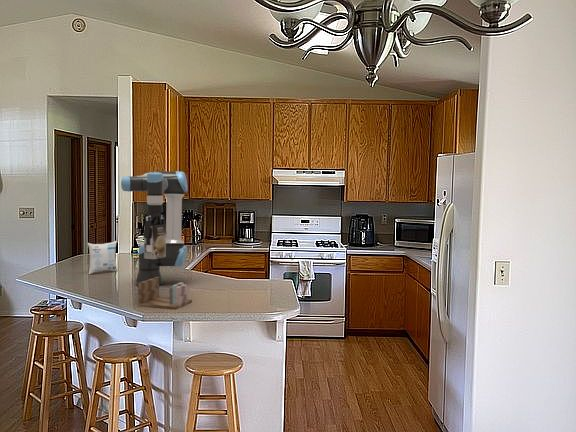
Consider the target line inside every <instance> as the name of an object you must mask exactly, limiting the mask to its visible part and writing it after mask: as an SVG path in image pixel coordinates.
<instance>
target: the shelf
mask: <svg viewBox="0 0 576 432" xmlns="http://www.w3.org/2000/svg"><path fill="white" fill-rule="evenodd" d="M137 287H138V288H137V289H138V290H137V291H138V293H137V295H138V296H137V297H138V307H146V308H155V309H165V310H178V309H180V308H182V307H184V306H186V305H188V304H191V303H193V300H192V299H188V296H187V295H188V291H187V289H188V285H187V284H185V283H184V282H178V283H175V284H172V286H169V287H168V288H169V289H168V291H169V297H167V296H166V297H165V296H160V286H159V277H155V278H152V279H149V280H146V281H143V282H140V283H138V286H137Z"/></svg>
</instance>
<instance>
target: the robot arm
mask: <svg viewBox="0 0 576 432" xmlns="http://www.w3.org/2000/svg"><path fill="white" fill-rule="evenodd" d="M120 187H121V189H122V191H123V192H146V203H147V206H146V212H147V213H148V216H145V217H144V225H145V226H143V227H144V228H143V233H142V234H143V235H142V236H143V239H144V238H146V245H147V252H152V238H151V236H152V228H150V226H155V225H166V257H163V258H158V259H146V258H144V244H143V245H140V246H138V253H137V254H138V255H137V256H138V273H137V276H136V280H135V286H136V287H138V283H140V282H143V281H146V280H149V279H152V278H155V277H159V287H160V286H162V285H164V279H163V276H162V274H161V267H175V268H176V267H182V266H184V265H185V262H186V260H187V254H188V253H187V252H188V247H187V246H186V245H185V242H184V240H182V223H183V221H182V219H183V218H182V217H183V214H182V212H183V211H182V209H183V198H184V196H185V194H186V193H187V192H188V181H187V175H186V173H185V172H184V171H179V170H176V171H173V170H172V171H171V170H168V171H164V170H162V171H161V170H159V171H157V170H156V171H151V172H147V173H143V174H142V175H136V176H135V175H133V176H129V175H128V176H127V175H126V176H123V177H122V178H121V182H120ZM164 196H165V197H166V207H165V208H166V210H165V211H166V215H164V214H162V213H163V212H164V205H163V204H164Z"/></svg>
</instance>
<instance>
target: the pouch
mask: <svg viewBox="0 0 576 432" xmlns="http://www.w3.org/2000/svg"><path fill="white" fill-rule="evenodd" d="M86 243H87V246H88V250H89V251H88V252H89V270H88V274H89V275H92V274H94V273H98V272H103V271H113V272H114V271H115V272H118V267H117V260H116V249H117V248H116V247H117V240H115V241H112V242H105V243H95V244H94V243H90V242H86Z"/></svg>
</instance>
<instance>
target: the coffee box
mask: <svg viewBox="0 0 576 432" xmlns="http://www.w3.org/2000/svg"><path fill="white" fill-rule="evenodd" d="M144 226H145V224H144ZM144 226H143V227H144ZM150 228H152V236H151V238H152V252H147V245H146V238H144V237H143V242H144V243H143V245H144V258H146V259H158V258H163V257H166V224H165V225H155V226H150Z"/></svg>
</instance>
